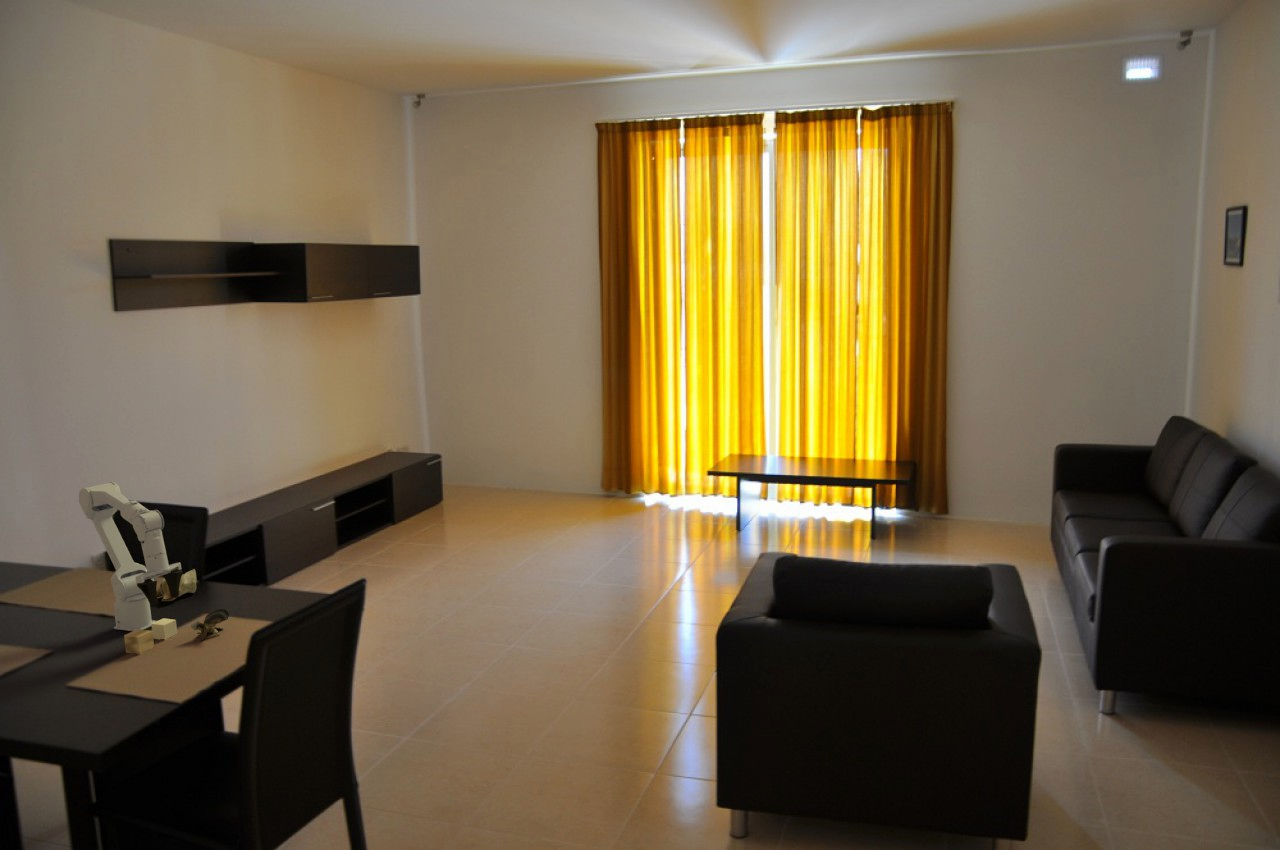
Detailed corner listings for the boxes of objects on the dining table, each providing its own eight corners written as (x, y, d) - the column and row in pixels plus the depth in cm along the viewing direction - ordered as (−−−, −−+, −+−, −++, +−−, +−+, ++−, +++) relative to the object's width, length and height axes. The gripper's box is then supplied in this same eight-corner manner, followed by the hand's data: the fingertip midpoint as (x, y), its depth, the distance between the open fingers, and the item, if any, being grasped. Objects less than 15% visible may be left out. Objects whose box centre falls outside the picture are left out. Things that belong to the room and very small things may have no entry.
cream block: (153, 638, 296) (151, 623, 295) (165, 633, 300) (163, 618, 299) (165, 640, 294) (163, 625, 294) (177, 634, 299) (175, 619, 298)
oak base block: (126, 652, 286) (124, 635, 285) (140, 645, 291) (138, 628, 290) (140, 654, 285) (138, 637, 284) (154, 648, 289) (152, 630, 288)
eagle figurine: (222, 636, 292) (237, 618, 301) (203, 617, 290) (219, 599, 299) (202, 650, 294) (217, 632, 303) (183, 631, 292) (199, 613, 301)
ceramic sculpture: (203, 566, 332) (159, 582, 320) (208, 592, 334) (164, 609, 322) (184, 562, 338) (140, 577, 326) (188, 587, 340) (145, 603, 328)
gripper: (145, 559, 286) (155, 607, 287) (185, 546, 299) (194, 592, 300) (126, 561, 288) (136, 609, 289) (166, 549, 302) (176, 594, 303)
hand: (164, 601), depth 295 cm, fingers open, 7 cm apart
